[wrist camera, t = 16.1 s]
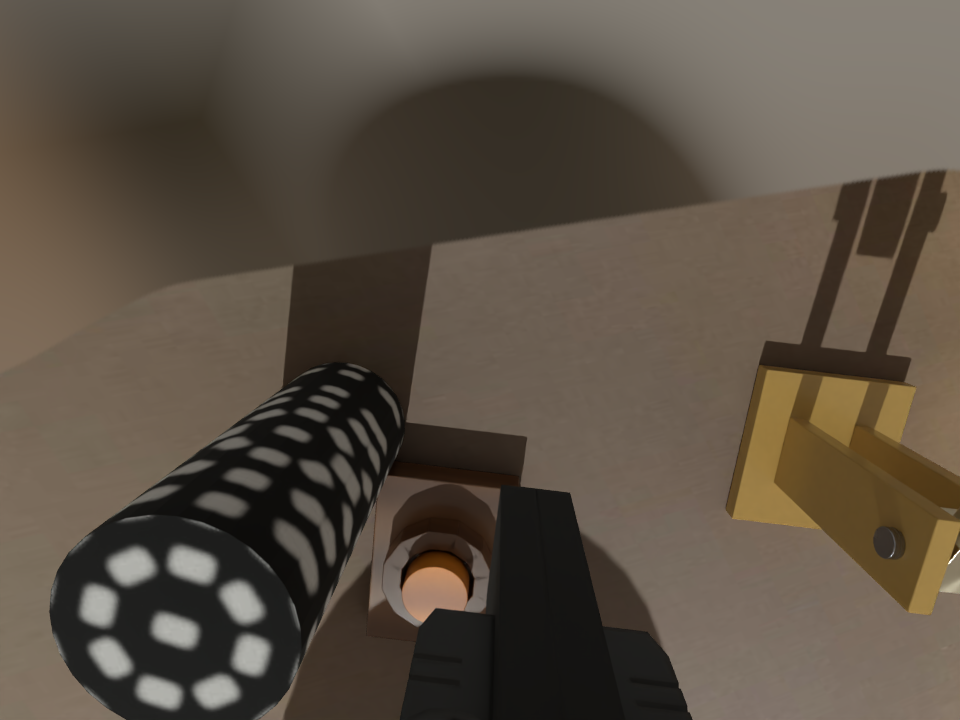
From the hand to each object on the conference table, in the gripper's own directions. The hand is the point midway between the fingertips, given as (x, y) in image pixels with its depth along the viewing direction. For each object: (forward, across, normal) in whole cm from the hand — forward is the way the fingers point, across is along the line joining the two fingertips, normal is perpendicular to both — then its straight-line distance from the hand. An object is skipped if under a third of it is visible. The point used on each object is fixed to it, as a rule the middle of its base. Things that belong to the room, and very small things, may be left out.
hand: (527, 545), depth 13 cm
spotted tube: (+25, -10, -7) cm, 28 cm away
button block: (+24, -3, -15) cm, 29 cm away
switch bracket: (+24, +20, -5) cm, 32 cm away
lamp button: (+21, -3, -15) cm, 26 cm away
